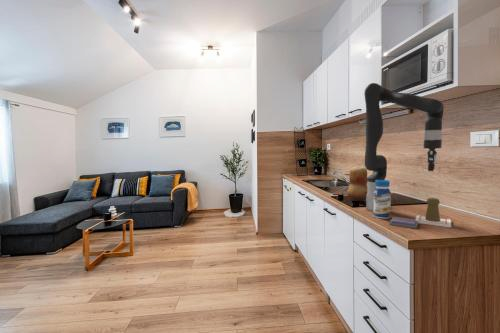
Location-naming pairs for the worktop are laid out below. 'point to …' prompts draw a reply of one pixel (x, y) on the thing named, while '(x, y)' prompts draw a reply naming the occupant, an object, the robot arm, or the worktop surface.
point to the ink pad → (404, 222)
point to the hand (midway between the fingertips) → (431, 170)
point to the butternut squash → (357, 183)
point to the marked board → (441, 223)
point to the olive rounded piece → (432, 210)
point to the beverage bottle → (382, 199)
